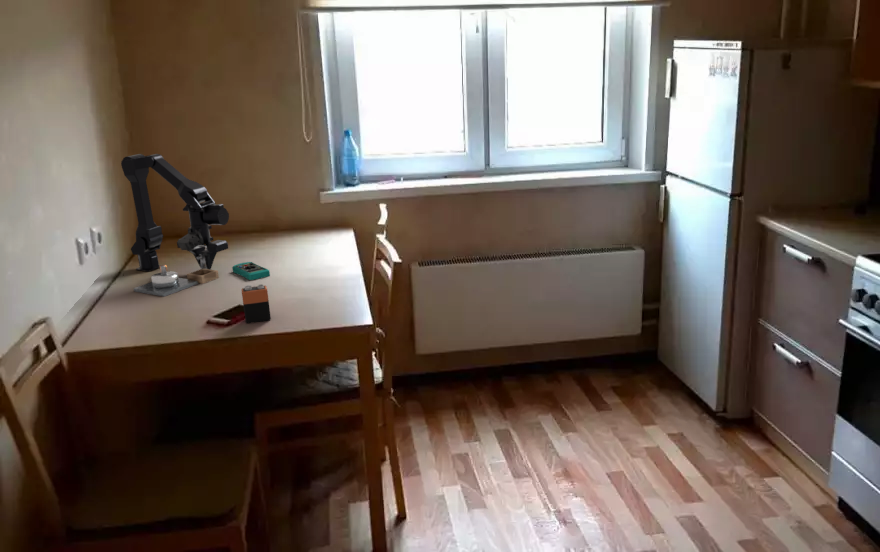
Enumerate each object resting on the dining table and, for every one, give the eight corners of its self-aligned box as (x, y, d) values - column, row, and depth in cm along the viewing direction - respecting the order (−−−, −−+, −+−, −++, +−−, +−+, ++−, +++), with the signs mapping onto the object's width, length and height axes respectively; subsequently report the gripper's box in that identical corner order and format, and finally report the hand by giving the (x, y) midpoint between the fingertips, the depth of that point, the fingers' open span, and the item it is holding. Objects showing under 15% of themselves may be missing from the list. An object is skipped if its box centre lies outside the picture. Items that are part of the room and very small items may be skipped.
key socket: (187, 281, 256) (186, 274, 255) (204, 275, 261) (203, 268, 260) (202, 283, 252) (201, 276, 251) (218, 277, 258) (217, 270, 257)
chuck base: (133, 291, 248) (133, 288, 248) (168, 278, 259) (168, 276, 259) (163, 296, 241) (163, 293, 241) (198, 283, 252) (197, 280, 252)
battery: (245, 319, 217) (240, 285, 215) (269, 315, 219) (265, 281, 216) (245, 324, 213) (241, 289, 211) (271, 320, 215) (266, 286, 212)
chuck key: (196, 275, 262) (193, 255, 260) (210, 270, 267) (207, 250, 265) (202, 276, 261) (199, 255, 259) (216, 271, 266) (213, 251, 264)
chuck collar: (179, 285, 248) (176, 267, 246) (153, 289, 245) (150, 271, 243) (177, 272, 262) (174, 255, 260) (152, 276, 259) (149, 259, 257)
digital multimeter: (252, 268, 268) (251, 260, 268) (270, 277, 257) (269, 268, 256) (232, 273, 264) (230, 264, 263) (250, 282, 253) (249, 273, 252)
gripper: (160, 227, 257) (168, 272, 262) (200, 231, 248) (207, 278, 252) (187, 219, 266) (193, 263, 271) (226, 223, 257) (232, 269, 261)
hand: (205, 268), depth 264 cm, fingers closed on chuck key, 3 cm apart
